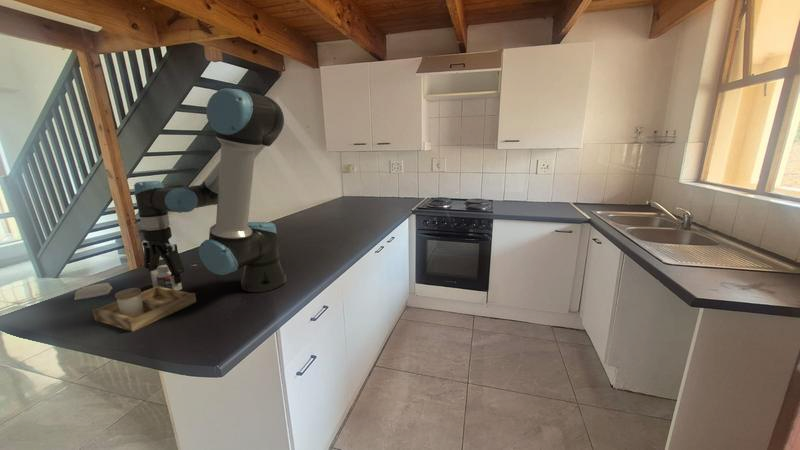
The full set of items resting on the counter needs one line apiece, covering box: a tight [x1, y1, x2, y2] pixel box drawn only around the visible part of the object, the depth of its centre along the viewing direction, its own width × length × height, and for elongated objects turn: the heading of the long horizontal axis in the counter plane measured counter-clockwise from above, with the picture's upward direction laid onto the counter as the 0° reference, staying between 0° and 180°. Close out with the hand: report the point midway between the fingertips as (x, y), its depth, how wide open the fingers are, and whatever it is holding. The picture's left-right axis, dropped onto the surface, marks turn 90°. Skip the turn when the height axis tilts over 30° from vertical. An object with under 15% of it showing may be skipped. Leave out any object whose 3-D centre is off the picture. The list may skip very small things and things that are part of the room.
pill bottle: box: [156, 264, 172, 289], centre depth 110 cm, size 5×5×9 cm
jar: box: [114, 287, 145, 318], centre depth 90 cm, size 6×6×8 cm
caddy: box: [91, 286, 197, 332], centre depth 95 cm, size 17×18×4 cm
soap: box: [73, 282, 113, 301], centre depth 108 cm, size 9×7×3 cm
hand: (168, 289), depth 111 cm, fingers open, 9 cm apart
